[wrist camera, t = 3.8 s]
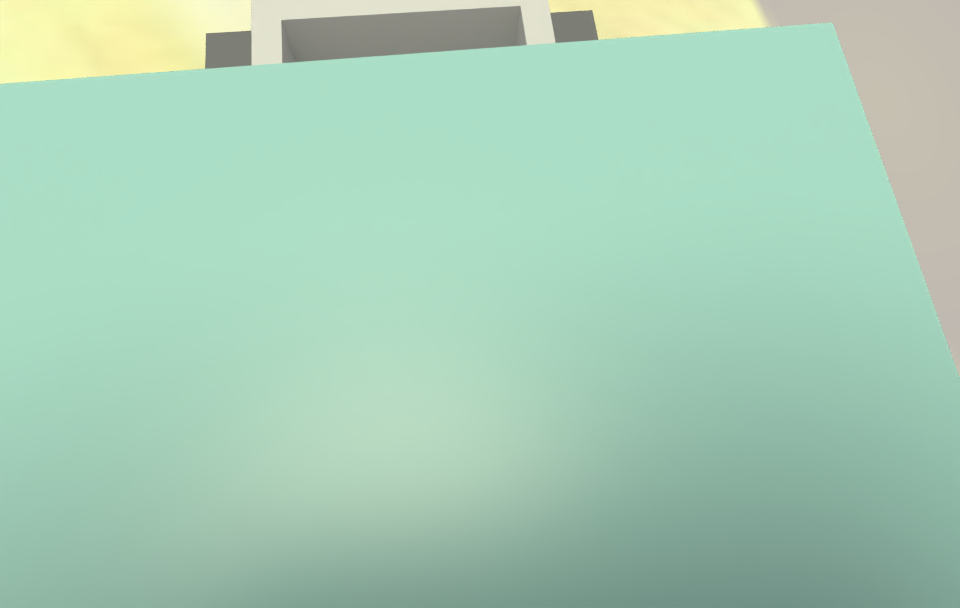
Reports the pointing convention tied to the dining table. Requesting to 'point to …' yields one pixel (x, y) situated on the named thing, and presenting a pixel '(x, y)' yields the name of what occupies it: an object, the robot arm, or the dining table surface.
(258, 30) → the board
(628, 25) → the dining table surface
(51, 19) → the dining table surface
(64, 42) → the dining table surface
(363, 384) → the plug
